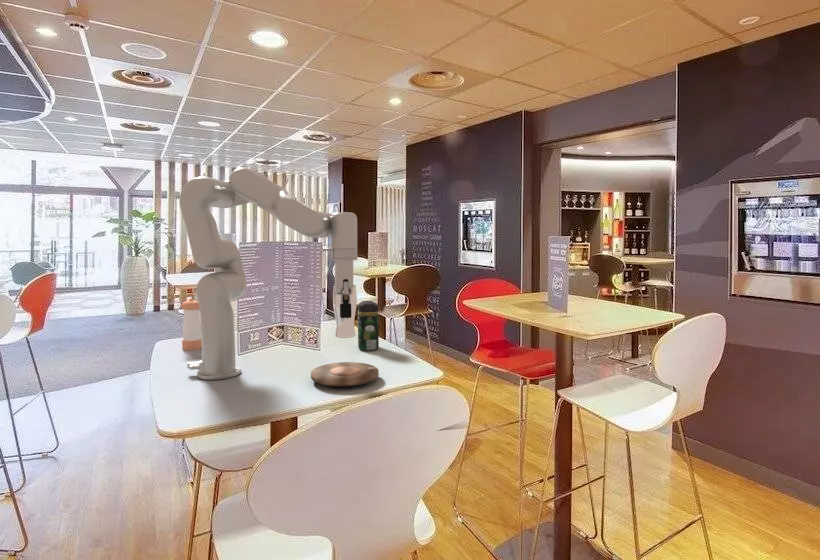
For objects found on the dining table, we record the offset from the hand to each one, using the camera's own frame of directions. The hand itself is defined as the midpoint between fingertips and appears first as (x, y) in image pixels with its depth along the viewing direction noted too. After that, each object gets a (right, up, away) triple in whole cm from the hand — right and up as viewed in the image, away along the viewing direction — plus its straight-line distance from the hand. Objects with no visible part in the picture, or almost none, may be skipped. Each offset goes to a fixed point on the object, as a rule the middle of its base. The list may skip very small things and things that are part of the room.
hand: (345, 315), depth 133 cm
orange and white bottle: (-64, -16, +40) cm, 77 cm away
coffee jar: (+3, -16, +41) cm, 44 cm away
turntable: (0, -18, +2) cm, 18 cm away
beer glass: (0, -6, +1) cm, 6 cm away
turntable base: (0, -20, +2) cm, 20 cm away
